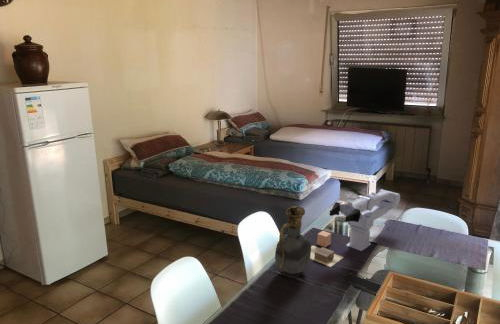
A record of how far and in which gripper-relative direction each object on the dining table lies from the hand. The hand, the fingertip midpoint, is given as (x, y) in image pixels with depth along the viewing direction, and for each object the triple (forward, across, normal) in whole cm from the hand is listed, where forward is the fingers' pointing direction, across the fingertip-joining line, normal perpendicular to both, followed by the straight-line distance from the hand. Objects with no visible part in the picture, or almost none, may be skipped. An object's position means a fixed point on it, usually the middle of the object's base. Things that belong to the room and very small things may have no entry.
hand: (338, 216), depth 168 cm
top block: (-10, -11, +21) cm, 26 cm away
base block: (+1, -4, +21) cm, 21 cm away
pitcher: (+22, -6, +22) cm, 31 cm away
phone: (+7, +19, +21) cm, 29 cm away
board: (0, -6, +21) cm, 22 cm away
